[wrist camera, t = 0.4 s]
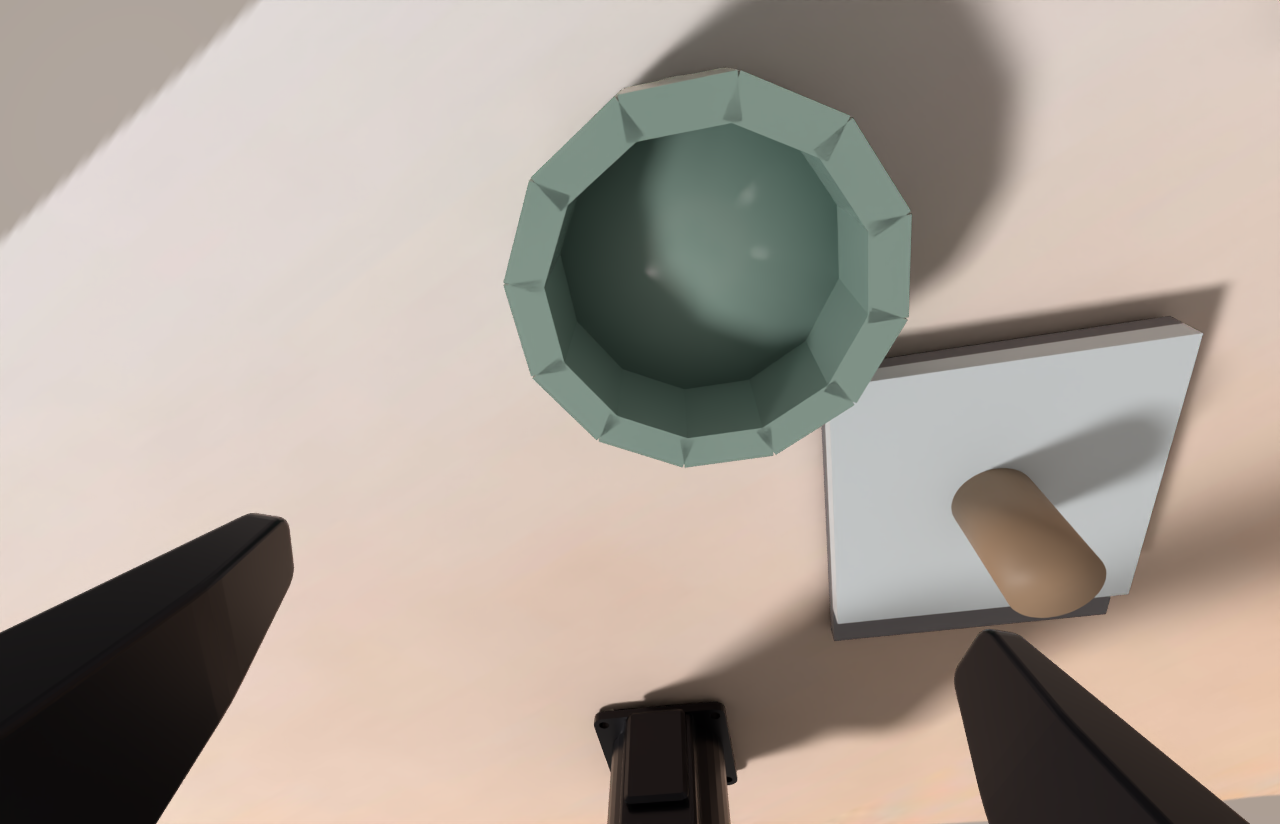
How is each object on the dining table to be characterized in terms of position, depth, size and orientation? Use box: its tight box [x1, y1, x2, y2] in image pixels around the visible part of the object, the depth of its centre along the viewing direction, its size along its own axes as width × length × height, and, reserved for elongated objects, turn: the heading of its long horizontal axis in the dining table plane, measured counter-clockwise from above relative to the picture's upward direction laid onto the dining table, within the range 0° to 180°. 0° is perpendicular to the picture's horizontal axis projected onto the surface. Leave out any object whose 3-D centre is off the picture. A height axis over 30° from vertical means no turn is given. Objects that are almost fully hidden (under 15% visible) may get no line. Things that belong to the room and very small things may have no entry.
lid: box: [825, 323, 1203, 624], centre depth 20 cm, size 11×11×5 cm
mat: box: [822, 316, 1183, 641], centre depth 23 cm, size 13×11×1 cm
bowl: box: [504, 67, 912, 467], centre depth 17 cm, size 10×10×4 cm
